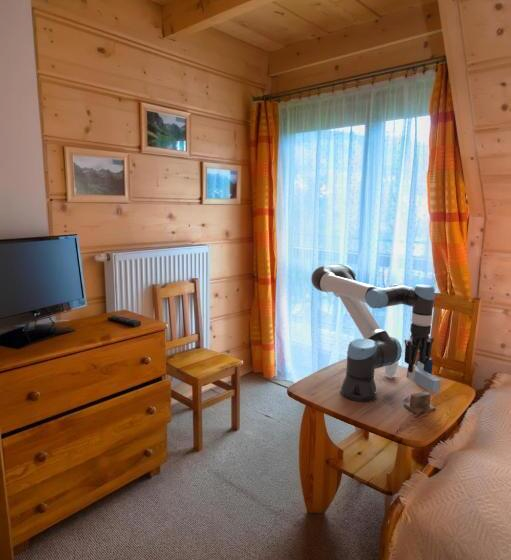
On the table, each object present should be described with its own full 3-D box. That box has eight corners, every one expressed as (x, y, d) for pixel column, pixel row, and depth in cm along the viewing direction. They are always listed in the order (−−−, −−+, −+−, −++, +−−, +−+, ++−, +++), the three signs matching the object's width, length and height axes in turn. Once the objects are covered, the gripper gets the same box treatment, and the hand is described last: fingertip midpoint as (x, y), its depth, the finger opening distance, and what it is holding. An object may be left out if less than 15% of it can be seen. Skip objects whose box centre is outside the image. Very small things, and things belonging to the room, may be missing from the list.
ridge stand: (416, 414, 169) (417, 400, 168) (403, 406, 175) (405, 392, 174) (435, 409, 173) (437, 396, 172) (422, 402, 179) (423, 388, 178)
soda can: (428, 379, 202) (430, 355, 200) (432, 385, 195) (435, 360, 193) (412, 378, 203) (415, 354, 200) (416, 384, 196) (419, 359, 193)
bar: (432, 393, 165) (434, 381, 164) (406, 377, 177) (408, 366, 176) (439, 391, 166) (440, 379, 165) (413, 376, 179) (414, 365, 178)
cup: (387, 379, 200) (388, 363, 199) (376, 371, 210) (377, 355, 208) (400, 378, 202) (402, 362, 200) (388, 370, 211) (390, 354, 210)
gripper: (429, 319, 177) (423, 372, 182) (398, 322, 171) (392, 377, 175) (444, 324, 171) (437, 379, 175) (411, 328, 164) (405, 385, 169)
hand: (415, 378), depth 175 cm, fingers closed on bar, 3 cm apart
